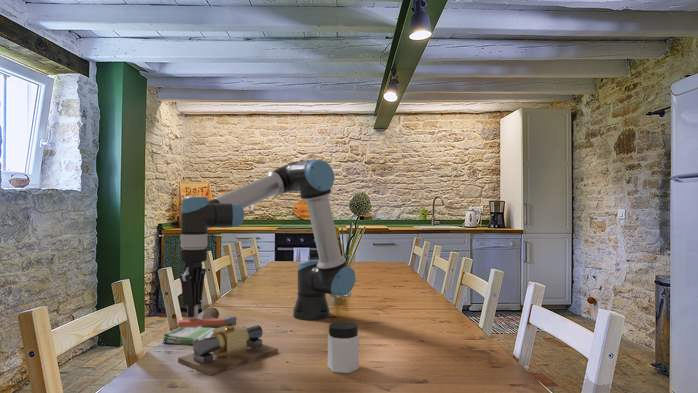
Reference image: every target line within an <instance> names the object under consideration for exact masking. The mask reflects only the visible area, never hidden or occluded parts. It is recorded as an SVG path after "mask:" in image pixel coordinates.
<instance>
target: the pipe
mask: <svg viewBox="0 0 698 393" xmlns="http://www.w3.org/2000/svg"><path fill="white" fill-rule="evenodd" d="M219 317H220V311H219V309H217V307H212V306H211V307H207V308H206V309H205V310H204V312H203V314H202V318H201V320H205V319H219ZM235 325H236V326H237V323H236V324H235ZM224 326H226V324H209V325H200V328H220V327H224Z"/></svg>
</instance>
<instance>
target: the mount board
mask: <svg viewBox="0 0 698 393" xmlns="http://www.w3.org/2000/svg"><path fill="white" fill-rule="evenodd" d="M278 351H279V350H278V348H277V347H274V346H270V345H267V344H264V343H262V346H261V347H258V348H252V347H249V346H247V352H246V353H243V354H240V355H237V356H234V357H231V358H228V359H226V358H224V357H221V356H218V355H215V354H213V352H210V354H213V362H210V363H207V364H204V365H203V364H201V363H198V362H196V361H194V352H193V353H190V354H187V355H183V356H180V357H177V362H178V363H180V364H182V365H185V366H187V367H189V368H192V369H194V370H197V371H199V372H201V373H203V374H206V375H209V376H213V375H216V374H219V373H222V372H225V371H227V370H231V369H233V368H236V367H240V366H242V365H243V366H244V365H245V364H247V363H250V362H254V361H257V360H260V359H264V358H265V357H268V356H272V355H274V354H278Z"/></svg>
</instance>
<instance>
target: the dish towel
mask: <svg viewBox="0 0 698 393" xmlns="http://www.w3.org/2000/svg"><path fill="white" fill-rule="evenodd" d="M213 329H216V328H206V327H201V326H198V327H197V328H187V327H177V328H175V329H173V330H171V331H168V332H165V333H163V336H164V338H162V341H163V342H164V341H165V342H166V343H165V342H164V343H163V342H162V343H163V344H171V343H175V344H174V345H192V346H193V345H194V343H195V342H196V341H200V340H203V339H207V338H210V337H211V335H212V334H213Z"/></svg>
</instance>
